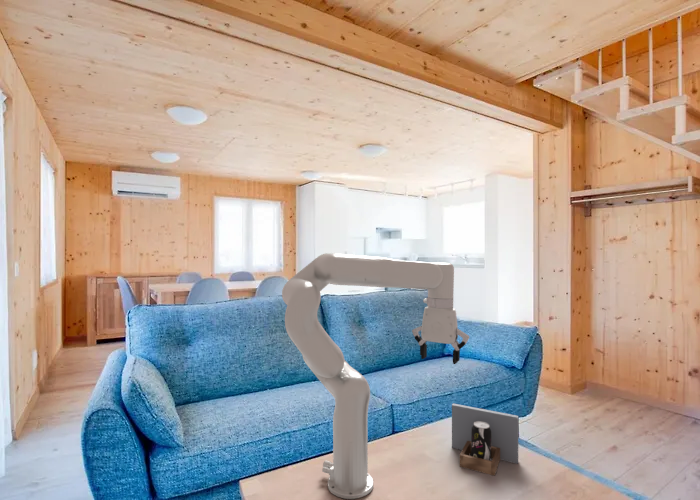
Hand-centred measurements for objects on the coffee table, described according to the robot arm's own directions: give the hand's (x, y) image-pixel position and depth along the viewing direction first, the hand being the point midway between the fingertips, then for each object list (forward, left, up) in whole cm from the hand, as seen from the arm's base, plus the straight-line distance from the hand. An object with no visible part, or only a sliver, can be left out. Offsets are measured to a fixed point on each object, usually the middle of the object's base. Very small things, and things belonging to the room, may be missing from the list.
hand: (439, 360), depth 120 cm
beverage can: (+11, +6, -32) cm, 34 cm away
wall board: (+11, +13, -32) cm, 36 cm away
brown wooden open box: (+11, +7, -32) cm, 34 cm away
